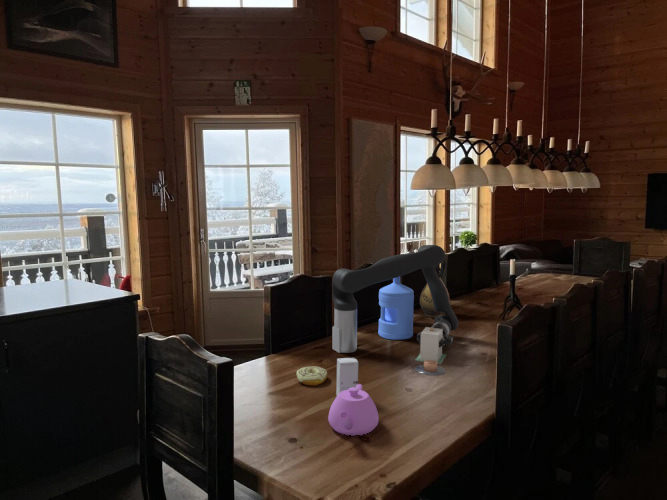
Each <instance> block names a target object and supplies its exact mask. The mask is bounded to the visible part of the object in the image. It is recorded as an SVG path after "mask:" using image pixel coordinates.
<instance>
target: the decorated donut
mask: <svg viewBox="0 0 667 500" xmlns="http://www.w3.org/2000/svg"><path fill="white" fill-rule="evenodd" d="M296 378H297V380H298V381H299V382H300V383H301V384H303V385H306V386H314V387H315V386H317V385H321V384H324V382H325V381H326V380H327V378H328V371H327V370H326V369H325V368H323V367H320V366H314V365H313V366H304V367H301V368H300V369H299V368H298V369H297V371H296Z"/></svg>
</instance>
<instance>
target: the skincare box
mask: <svg viewBox="0 0 667 500" xmlns="http://www.w3.org/2000/svg"><path fill="white" fill-rule="evenodd" d="M358 384H359V361H358V359H356V357H343V358H342V357H341V358H336V388H335V389H336V392H335V393H336V397H337V396H338V394H339V393H340V392H342V391H344V390H348V389H349V388H352V387H355V388H356V386H357V385H358Z"/></svg>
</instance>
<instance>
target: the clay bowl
mask: <svg viewBox="0 0 667 500" xmlns="http://www.w3.org/2000/svg"><path fill="white" fill-rule="evenodd" d="M423 365H424V371H427V372H436V371H437V366H438V363H437V361H435V360H425V361H424V362H423Z"/></svg>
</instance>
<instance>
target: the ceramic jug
mask: <svg viewBox="0 0 667 500" xmlns="http://www.w3.org/2000/svg"><path fill="white" fill-rule="evenodd" d="M445 269H446V260H445V259H444V260H443V262H442V263H441V265H440V264H439V265H437V266H435V270H436V273H437V275H438V277H439V279H440V280H441V282H442V283H443V285H444V287H445V289H446V291H447V294H448V299H449V303H450V293H449V291H448V288H447V287H446V284H445V283H444V281H443V276H444V272H445ZM450 304H451V303H450ZM419 305H420V308H421V309H422V312H424V314H423V315H424V316H425V317H429V318H436V317H437V316H443V315H444V314H445V313H444V312H437V311H436V310H435V309H434V305H433V301H432V297H431V293H430V289H429V286H428V284H427V283H426V284H425V285H424V287H423V289H422V291H421V293H420V296H419Z"/></svg>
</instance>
